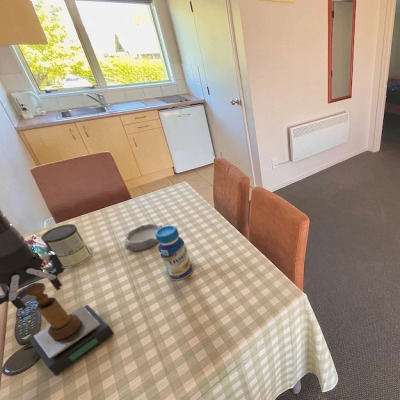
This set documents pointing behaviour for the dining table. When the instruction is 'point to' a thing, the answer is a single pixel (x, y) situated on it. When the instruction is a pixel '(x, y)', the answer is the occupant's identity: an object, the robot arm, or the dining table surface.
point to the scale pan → (58, 346)
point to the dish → (142, 237)
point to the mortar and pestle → (54, 313)
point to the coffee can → (67, 245)
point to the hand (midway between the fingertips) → (41, 297)
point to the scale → (75, 346)
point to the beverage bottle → (174, 253)
